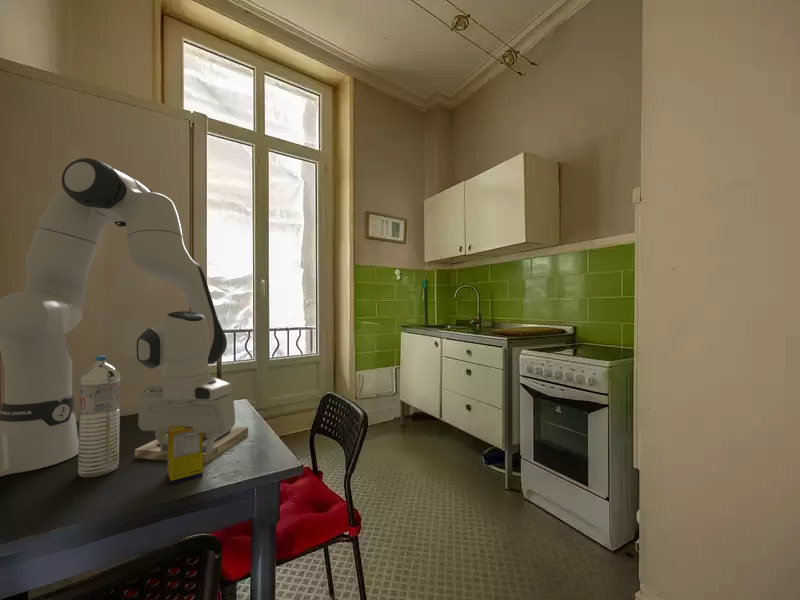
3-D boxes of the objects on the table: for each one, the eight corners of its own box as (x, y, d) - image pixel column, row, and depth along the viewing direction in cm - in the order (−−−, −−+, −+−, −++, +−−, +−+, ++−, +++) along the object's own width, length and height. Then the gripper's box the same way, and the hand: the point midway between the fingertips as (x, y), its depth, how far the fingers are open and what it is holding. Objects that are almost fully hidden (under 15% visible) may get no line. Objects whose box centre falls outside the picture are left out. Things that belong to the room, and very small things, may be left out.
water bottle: (87, 466, 80) (89, 354, 80) (124, 462, 82) (125, 353, 82) (70, 481, 74) (73, 359, 74) (111, 476, 76) (113, 357, 76)
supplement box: (197, 466, 81) (198, 417, 81) (203, 476, 76) (203, 424, 76) (166, 474, 77) (167, 423, 77) (170, 485, 72) (170, 431, 72)
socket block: (134, 458, 85) (135, 447, 85) (188, 431, 102) (189, 422, 102) (205, 463, 82) (205, 452, 82) (248, 434, 100) (248, 425, 100)
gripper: (130, 389, 75) (130, 455, 75) (221, 391, 73) (221, 459, 73) (153, 382, 81) (153, 443, 81) (238, 384, 79) (239, 447, 79)
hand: (186, 451), depth 77 cm, fingers open, 8 cm apart
